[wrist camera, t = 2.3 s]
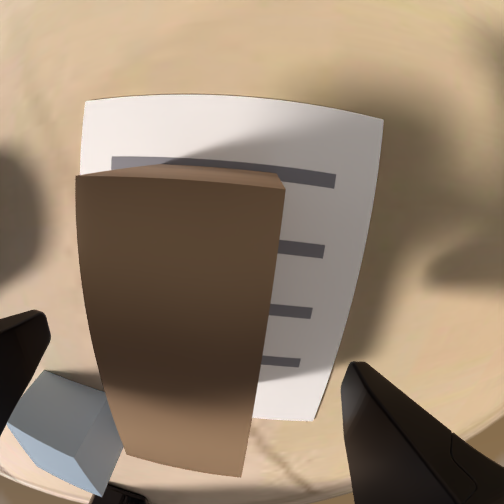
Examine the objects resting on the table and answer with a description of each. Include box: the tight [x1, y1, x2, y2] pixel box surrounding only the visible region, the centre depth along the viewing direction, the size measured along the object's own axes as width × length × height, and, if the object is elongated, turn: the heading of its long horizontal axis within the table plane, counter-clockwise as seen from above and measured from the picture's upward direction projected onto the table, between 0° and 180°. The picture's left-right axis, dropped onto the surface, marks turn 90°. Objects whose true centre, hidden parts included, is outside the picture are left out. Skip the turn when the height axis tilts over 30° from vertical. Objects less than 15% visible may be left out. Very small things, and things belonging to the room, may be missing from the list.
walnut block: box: [76, 164, 286, 477], centre depth 9 cm, size 9×4×5 cm, turn 174°
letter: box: [80, 95, 384, 421], centre depth 11 cm, size 14×11×1 cm
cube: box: [7, 370, 124, 497], centre depth 12 cm, size 5×5×5 cm
